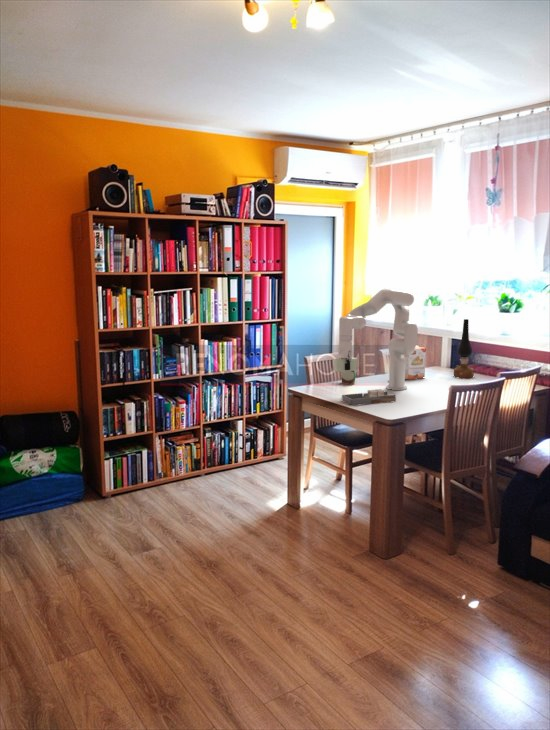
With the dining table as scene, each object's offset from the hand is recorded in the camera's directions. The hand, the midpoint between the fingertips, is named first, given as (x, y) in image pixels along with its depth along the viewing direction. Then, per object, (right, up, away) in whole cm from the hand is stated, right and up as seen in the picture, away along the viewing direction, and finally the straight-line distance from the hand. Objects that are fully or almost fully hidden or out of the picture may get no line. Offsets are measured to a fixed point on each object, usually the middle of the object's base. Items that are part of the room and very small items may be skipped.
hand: (345, 369), depth 345 cm
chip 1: (+14, -16, -9) cm, 23 cm away
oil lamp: (+88, -6, +60) cm, 107 cm away
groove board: (+18, -18, -7) cm, 27 cm away
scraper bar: (0, -1, 0) cm, 1 cm away
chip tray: (+5, -19, -11) cm, 22 cm away
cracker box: (+53, -7, +55) cm, 77 cm away
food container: (+8, -10, +42) cm, 44 cm away
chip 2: (+18, -16, -7) cm, 25 cm away
